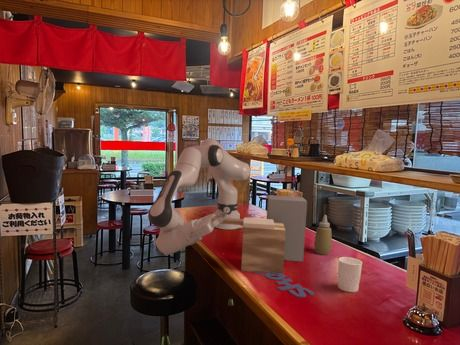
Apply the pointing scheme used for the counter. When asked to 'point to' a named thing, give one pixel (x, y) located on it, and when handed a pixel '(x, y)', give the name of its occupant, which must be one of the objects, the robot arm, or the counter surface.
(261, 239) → the box
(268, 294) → the counter surface
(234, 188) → the robot arm
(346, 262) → the white cup
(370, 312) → the counter surface
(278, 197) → the carton
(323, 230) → the squeeze bottle
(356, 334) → the counter surface
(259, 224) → the lid flap
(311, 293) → the signage
